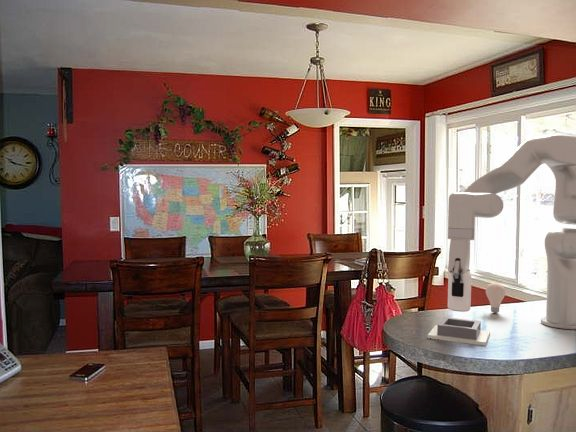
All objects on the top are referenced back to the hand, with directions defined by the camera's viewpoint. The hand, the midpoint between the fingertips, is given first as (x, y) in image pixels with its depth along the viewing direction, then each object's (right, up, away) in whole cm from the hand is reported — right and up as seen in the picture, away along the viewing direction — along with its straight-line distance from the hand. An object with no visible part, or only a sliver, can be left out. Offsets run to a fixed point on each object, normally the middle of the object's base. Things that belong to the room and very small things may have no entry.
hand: (459, 293), depth 148 cm
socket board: (0, -13, +1) cm, 13 cm away
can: (0, -5, 0) cm, 5 cm away
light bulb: (+23, -12, +30) cm, 40 cm away
